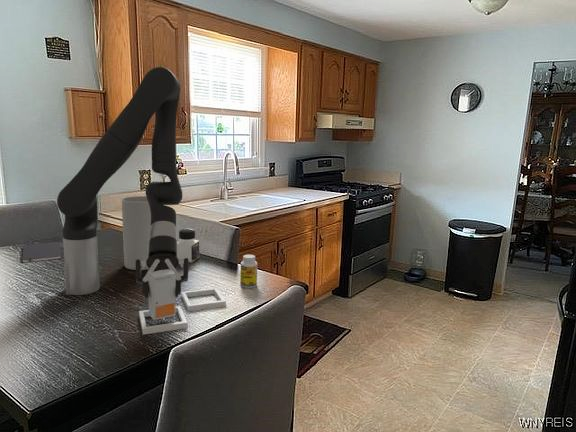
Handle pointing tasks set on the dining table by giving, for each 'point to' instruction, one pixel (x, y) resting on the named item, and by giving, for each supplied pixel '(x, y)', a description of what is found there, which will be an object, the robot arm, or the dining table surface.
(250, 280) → the supplement bottle
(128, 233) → the cylinder vase
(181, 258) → the medicine bottle
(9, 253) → the dining table surface
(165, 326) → the frame
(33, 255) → the notebook
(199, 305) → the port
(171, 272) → the skincare box
